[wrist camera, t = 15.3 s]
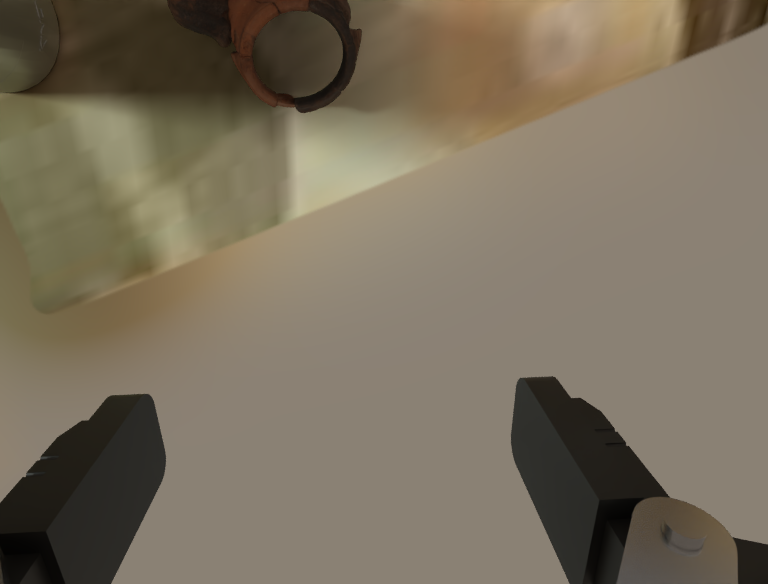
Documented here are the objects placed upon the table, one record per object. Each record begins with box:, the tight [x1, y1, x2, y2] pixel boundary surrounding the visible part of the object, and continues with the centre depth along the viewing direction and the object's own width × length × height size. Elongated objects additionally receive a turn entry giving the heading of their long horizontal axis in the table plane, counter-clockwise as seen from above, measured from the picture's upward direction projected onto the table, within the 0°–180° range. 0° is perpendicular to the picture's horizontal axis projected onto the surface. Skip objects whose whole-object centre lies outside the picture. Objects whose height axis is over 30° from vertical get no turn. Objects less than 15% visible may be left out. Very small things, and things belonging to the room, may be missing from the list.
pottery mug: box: [167, 0, 362, 113], centre depth 32 cm, size 12×10×8 cm
